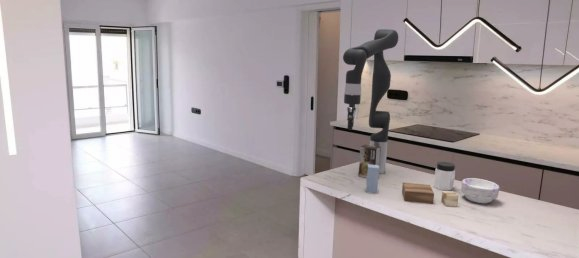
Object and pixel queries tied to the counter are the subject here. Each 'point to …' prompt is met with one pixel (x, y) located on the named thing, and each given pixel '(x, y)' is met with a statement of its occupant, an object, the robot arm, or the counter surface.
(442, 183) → the jar
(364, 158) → the coffee box
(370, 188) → the light blue block
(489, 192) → the paper bowls
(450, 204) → the maple cube
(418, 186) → the walnut block
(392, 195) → the counter surface
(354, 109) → the robot arm
